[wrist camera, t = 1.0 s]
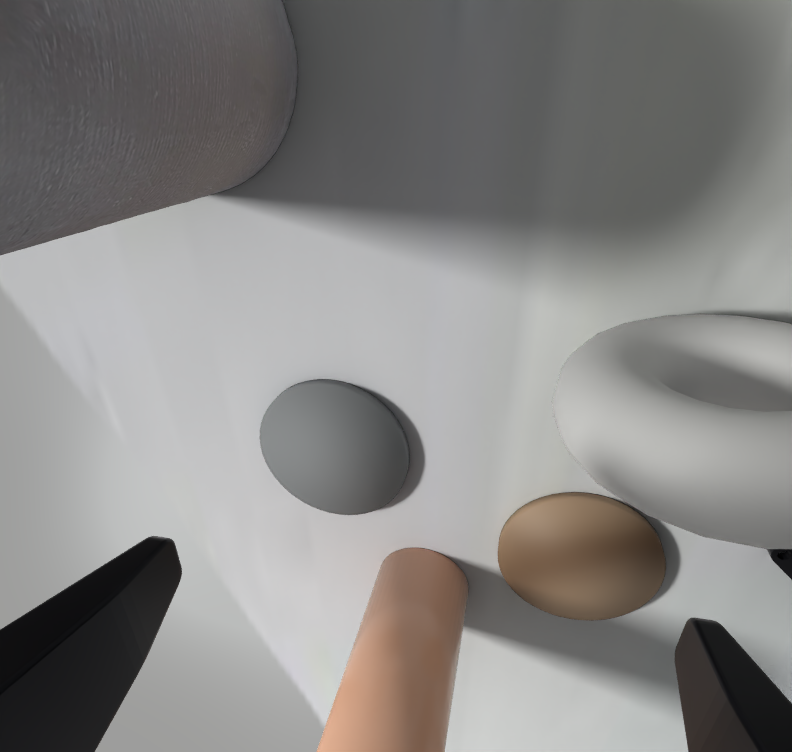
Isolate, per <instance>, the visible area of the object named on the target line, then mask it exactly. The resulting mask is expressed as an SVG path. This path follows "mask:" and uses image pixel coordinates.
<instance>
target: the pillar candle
mask: <svg viewBox="0 0 792 752" xmlns="http://www.w3.org/2000/svg"><path fill="white" fill-rule="evenodd" d="M297 79H298V65H297V54H296V48H295V44H294V38H293V35H292V31H291V28H290V25H289V22H288V19H287V15H286V12H285V9H284V5H283V2H282V0H0V255H3V254H6V253H10V252H14V251H17V250H21V249H25V248H28V247H31V246H35V245H38V244H42V243H45V242H48V241H51V240H55V239H58V238H62V237H65V236H69V235H72V234H76V233H80V232H84V231H87V230H90V229H93V228H96V227H99V226H103V225H107V224H110V223H114V222H117V221H120V220H124V219H127V218H131V217H134V216H137V215H141V214H144V213H148V212H152V211H155V210H159V209H162V208H166V207H169V206H172V205H176V204H180V203H185V202H188V201H191V200H194V199H197V198H201V197H205V196H208V195H211V194H214V193H218V192H221V191H225V190H227V189H230V188H233V187H235V186H237V185H240V184H242V183H243V182H245V181H247V180H248V179H249V178H251V177H252V176H254V175H255V174H256V173H257V172H259V171H260V170H261V169H262V168H263V167H264V166H265V165H266V164H267V163H268V161H269V160H270V159H271V158H272V156H273V155H274V154H275V152H276V151H277V149H278V148H279V146H280V144H281V142H282V140H283V137H284V136H285V134H286V131H287V129H288V126H289V123H290V119H291V116H292V114H293V109H294V105H295V99H296V89H297Z"/></svg>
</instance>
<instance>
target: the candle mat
mask: <svg viewBox="0 0 792 752" xmlns="http://www.w3.org/2000/svg"><path fill="white" fill-rule="evenodd" d="M260 444H261V449H262V453H263V456H264V459H265V461H266V463H267V465H268V467H269V469H270V471H271V472H272V474H273V475H274V476H275V478H276V479H277V480H278V481H279V482H280V484H281V485H282V486H283V487H284V488H285V489H286V490H288V491H289V492H290V493H291V494H292V495H294V496H295V497H296V498H298V499H300V500H301V501H303V502H304V503H306V504H308V505H310V506H312V507H315V508H317V509H320V510H323V511H326V512H330V513H335V514H342V515H358V514H364V513H368V512H372V511H375V510H377V509H379V508H381V507H383V506H384V505H386V504H388V503H389V502H390V501H391V500H392V499H393V498H394V497H395V496H396V495H397V494H398V492H399V491H400V489H401V487H402V485H403V483H404V480H405V477H406V474H407V472H408V467H409V458H410V454H409V446H408V442H407V439H406V436H405V433H404V431H403V429H402V427H401V425H400V424H399V422H398V420H397V419H396V417H395V416H394V415H393V414H392V412H391V411H390V410H389V409H388V408H387V407H386V406H385V405H384V404H383V403H382V402H380V401H379V400H378V399H377V398H375V397H374V396H372V395H371V394H369V393H368V392H366V391H364V390H362V389H360V388H358V387H356V386H353V385H351V384H348V383H344V382H340V381H335V380H324V379H317V380H309V381H305V382H301V383H298V384H296V385H293V386H291V387H290V388H288V389H286V390H285V391H284V392H282V393H281V394H280V395H279V396H278V397H277V398H276V399H275V400H274V401H273V403H272V404H271V405H270V406H269V408H268V409H267V411H266V413H265V414H264V417H263V420H262V422H261V428H260Z"/></svg>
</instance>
